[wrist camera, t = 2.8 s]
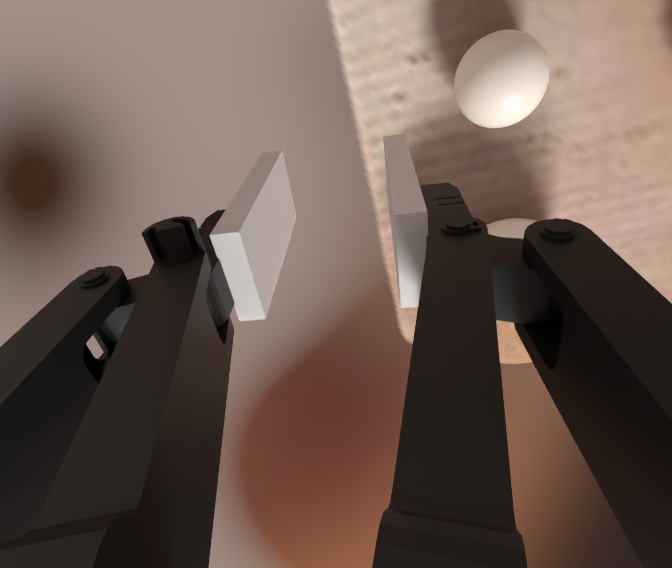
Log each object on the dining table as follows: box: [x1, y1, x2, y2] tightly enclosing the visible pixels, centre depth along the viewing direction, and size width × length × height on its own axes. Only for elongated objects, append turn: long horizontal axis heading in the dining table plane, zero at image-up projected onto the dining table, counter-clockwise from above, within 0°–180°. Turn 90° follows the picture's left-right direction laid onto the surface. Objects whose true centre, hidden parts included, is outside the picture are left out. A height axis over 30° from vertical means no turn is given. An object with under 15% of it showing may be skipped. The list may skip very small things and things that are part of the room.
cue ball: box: [454, 29, 549, 128], centre depth 26 cm, size 6×6×6 cm
